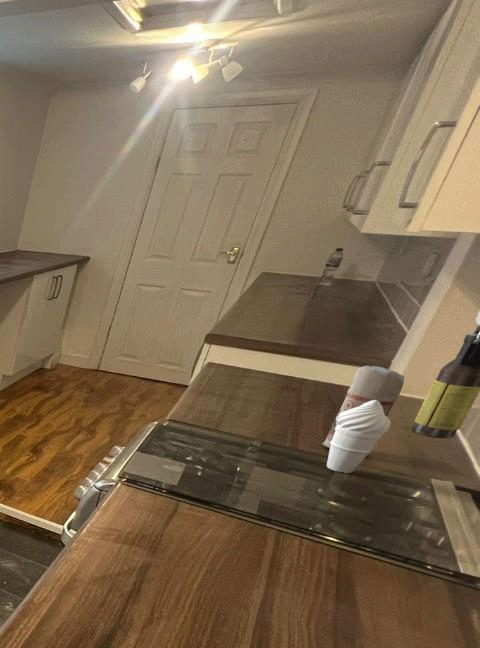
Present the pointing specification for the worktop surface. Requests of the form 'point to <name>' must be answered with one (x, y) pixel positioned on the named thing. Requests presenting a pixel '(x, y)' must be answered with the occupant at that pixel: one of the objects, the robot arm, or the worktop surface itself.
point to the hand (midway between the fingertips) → (471, 362)
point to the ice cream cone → (356, 435)
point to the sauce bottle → (449, 397)
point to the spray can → (370, 391)
